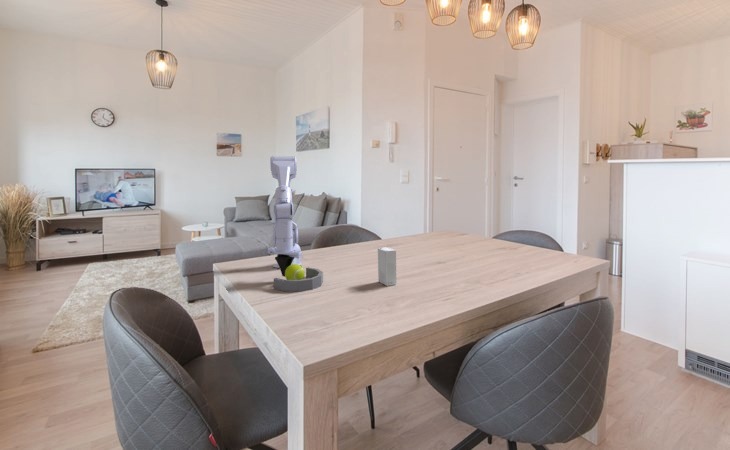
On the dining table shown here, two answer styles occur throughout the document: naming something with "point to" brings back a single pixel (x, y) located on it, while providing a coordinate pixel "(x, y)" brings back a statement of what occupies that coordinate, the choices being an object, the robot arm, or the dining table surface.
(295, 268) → the tennis ball
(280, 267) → the robot arm
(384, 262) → the skincare box
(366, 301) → the dining table surface
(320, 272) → the catch ring
